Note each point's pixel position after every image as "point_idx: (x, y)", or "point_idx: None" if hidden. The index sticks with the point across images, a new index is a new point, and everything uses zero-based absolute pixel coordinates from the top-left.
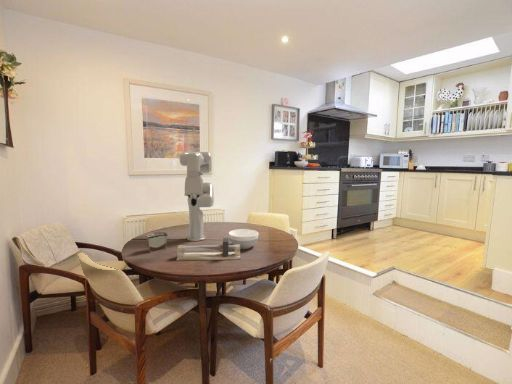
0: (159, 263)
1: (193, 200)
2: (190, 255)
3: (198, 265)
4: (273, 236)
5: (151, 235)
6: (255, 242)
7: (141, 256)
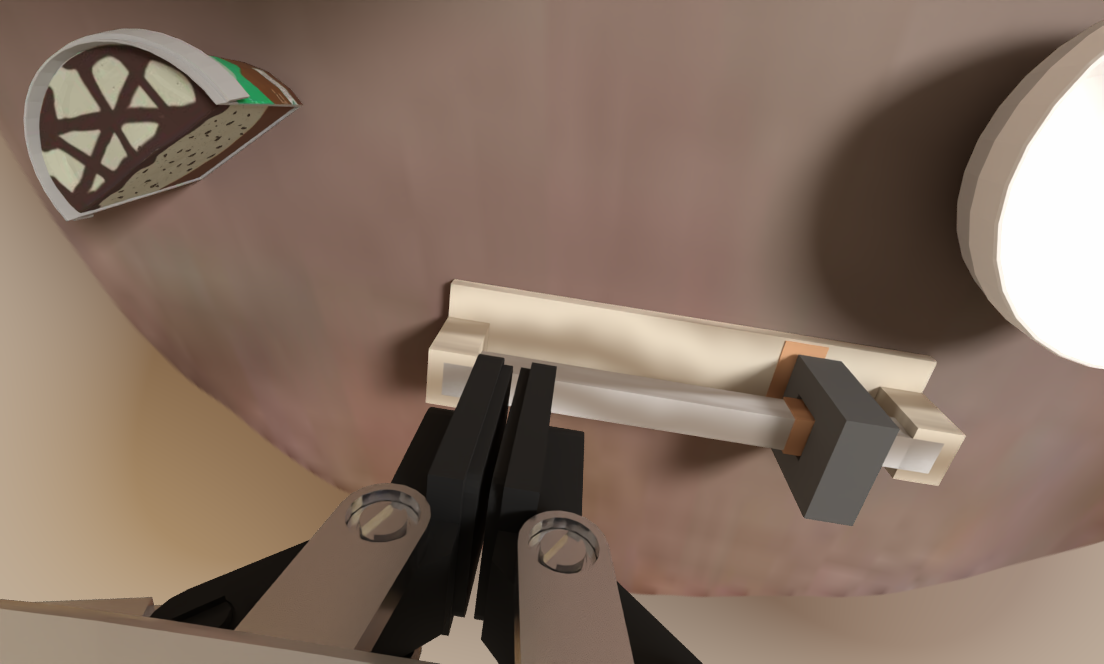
0: (346, 407)
1: (472, 576)
2: (536, 355)
3: (588, 486)
4: None
5: (70, 127)
6: None
7: (172, 253)
